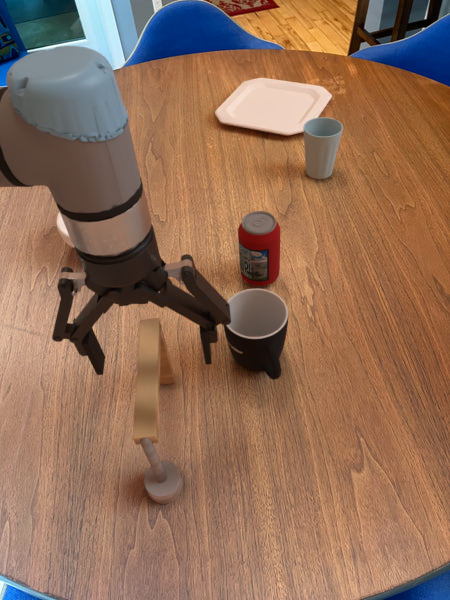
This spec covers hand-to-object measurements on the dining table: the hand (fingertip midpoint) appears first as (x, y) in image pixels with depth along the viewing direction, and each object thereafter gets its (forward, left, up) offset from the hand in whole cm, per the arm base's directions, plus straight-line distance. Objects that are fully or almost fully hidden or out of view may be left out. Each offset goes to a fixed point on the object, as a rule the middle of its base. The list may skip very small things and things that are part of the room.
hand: (154, 360), depth 60 cm
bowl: (-12, +35, -10) cm, 38 cm away
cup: (+32, +52, -10) cm, 62 cm away
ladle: (0, -5, -10) cm, 11 cm away
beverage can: (+16, +23, -10) cm, 30 cm away
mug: (+14, +5, -10) cm, 18 cm away
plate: (+26, +80, -10) cm, 85 cm away
